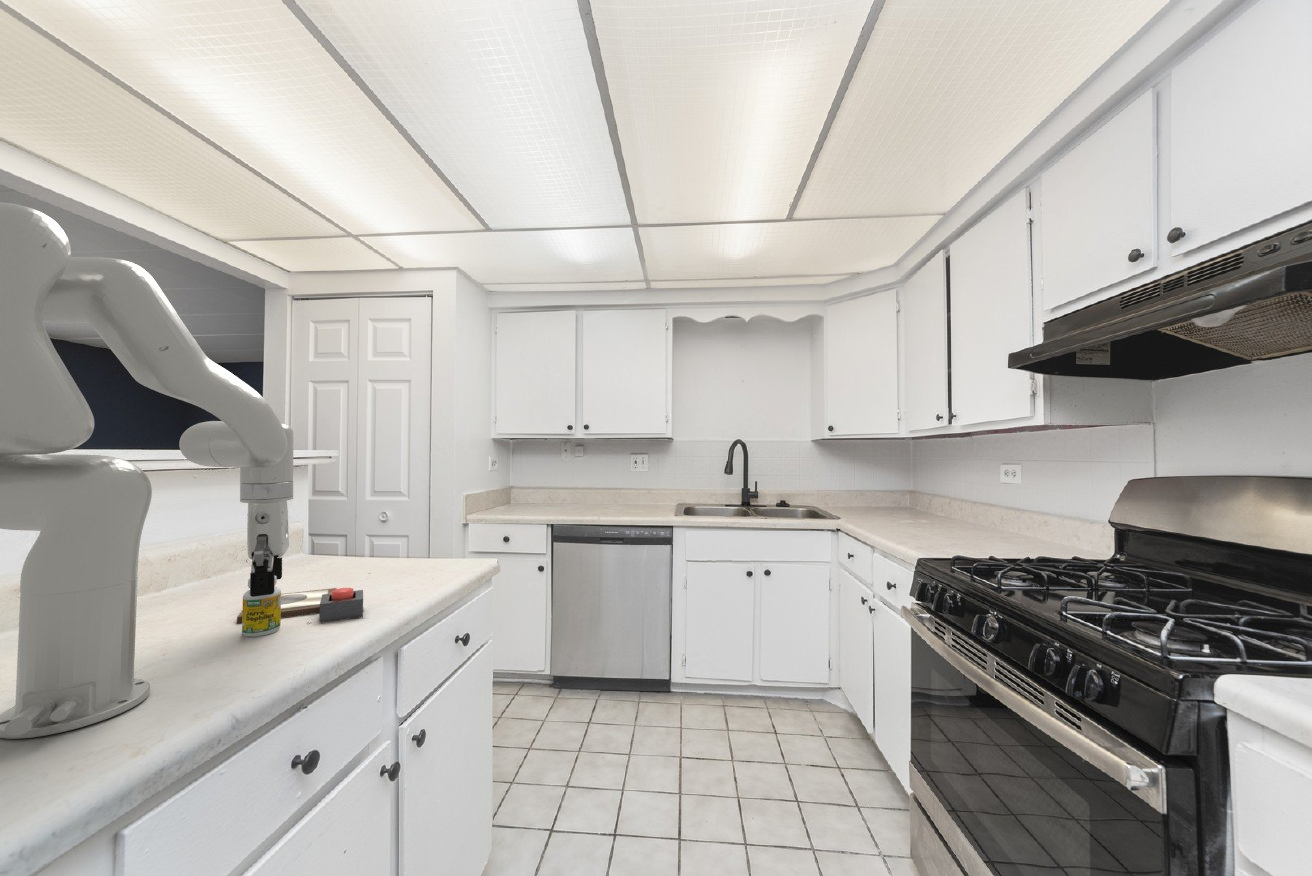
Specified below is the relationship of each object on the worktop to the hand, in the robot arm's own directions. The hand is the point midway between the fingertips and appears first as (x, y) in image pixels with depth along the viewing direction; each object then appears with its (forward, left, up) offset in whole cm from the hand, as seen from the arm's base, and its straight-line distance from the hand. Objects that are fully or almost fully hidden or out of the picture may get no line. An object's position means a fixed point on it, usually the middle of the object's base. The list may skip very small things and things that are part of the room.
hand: (267, 587), depth 89 cm
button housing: (+3, -11, -8) cm, 14 cm away
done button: (+3, -11, -5) cm, 13 cm away
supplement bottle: (-1, +1, -8) cm, 8 cm away
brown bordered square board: (+13, -2, -8) cm, 15 cm away
